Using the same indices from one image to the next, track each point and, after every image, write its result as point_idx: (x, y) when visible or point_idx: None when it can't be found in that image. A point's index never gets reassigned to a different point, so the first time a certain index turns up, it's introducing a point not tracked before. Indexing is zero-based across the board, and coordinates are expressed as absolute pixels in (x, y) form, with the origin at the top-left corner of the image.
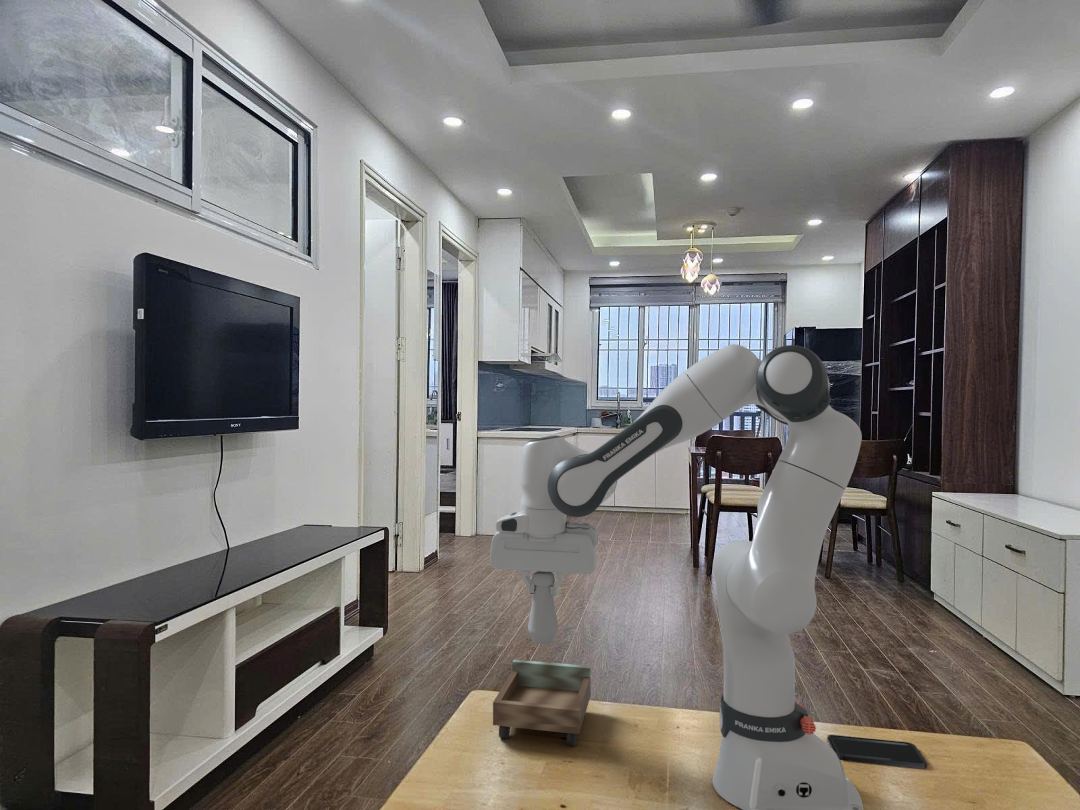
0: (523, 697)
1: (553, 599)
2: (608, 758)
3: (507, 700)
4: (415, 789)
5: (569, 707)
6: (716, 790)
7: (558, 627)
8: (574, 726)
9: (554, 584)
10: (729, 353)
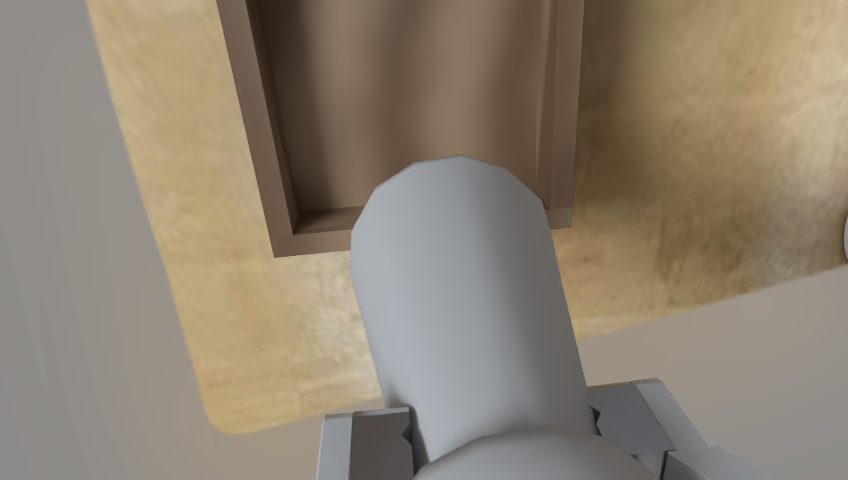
0: (316, 52)
1: (572, 329)
2: (611, 181)
3: (281, 132)
4: (224, 406)
5: None
6: (845, 245)
7: (553, 243)
8: None
9: (651, 464)
10: None
